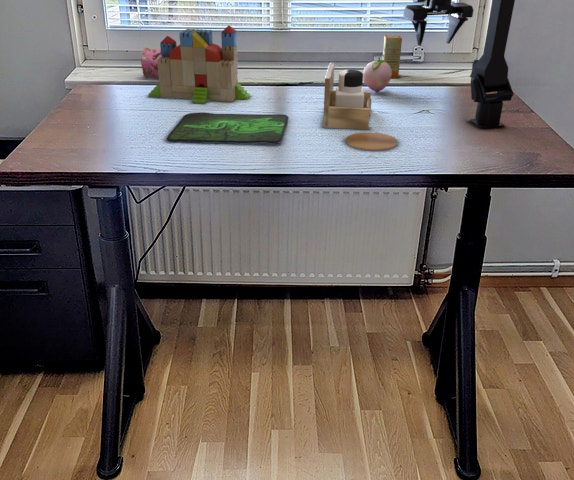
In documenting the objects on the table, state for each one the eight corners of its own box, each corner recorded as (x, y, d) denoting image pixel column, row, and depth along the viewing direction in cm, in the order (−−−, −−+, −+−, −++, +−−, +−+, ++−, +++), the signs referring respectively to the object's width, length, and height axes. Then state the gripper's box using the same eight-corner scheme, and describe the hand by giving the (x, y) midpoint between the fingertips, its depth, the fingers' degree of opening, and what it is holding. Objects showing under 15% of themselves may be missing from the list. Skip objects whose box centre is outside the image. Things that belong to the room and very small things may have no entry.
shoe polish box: (382, 77, 203) (386, 38, 197) (381, 74, 207) (384, 35, 201) (398, 78, 203) (402, 38, 197) (396, 74, 207) (400, 35, 201)
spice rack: (370, 110, 172) (374, 64, 165) (369, 129, 157) (373, 80, 151) (328, 108, 173) (330, 62, 167) (323, 127, 158) (324, 78, 152)
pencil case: (212, 75, 204) (210, 46, 200) (207, 82, 196) (206, 52, 192) (146, 74, 205) (143, 45, 200) (139, 80, 197) (136, 51, 193)
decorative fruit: (365, 87, 192) (367, 53, 187) (391, 89, 190) (395, 55, 185) (358, 95, 185) (360, 59, 180) (386, 97, 183) (389, 61, 177)
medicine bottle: (362, 115, 168) (365, 68, 161) (362, 123, 162) (365, 74, 155) (335, 114, 168) (337, 67, 162) (334, 122, 162) (336, 73, 156)
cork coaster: (405, 148, 145) (405, 146, 145) (356, 152, 143) (356, 150, 142) (385, 132, 155) (385, 130, 155) (338, 136, 153) (338, 134, 152)
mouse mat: (164, 141, 148) (163, 137, 147) (185, 114, 166) (185, 110, 166) (281, 145, 146) (281, 141, 145) (289, 117, 164) (289, 113, 164)
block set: (144, 100, 178) (136, 27, 168) (161, 88, 190) (155, 19, 180) (241, 106, 174) (239, 31, 164) (253, 93, 186) (251, 22, 176)
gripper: (456, -24, 176) (446, 35, 185) (397, -22, 171) (390, 39, 179) (479, -16, 168) (468, 45, 177) (418, -14, 162) (409, 49, 171)
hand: (433, 44), depth 176 cm, fingers open, 9 cm apart
